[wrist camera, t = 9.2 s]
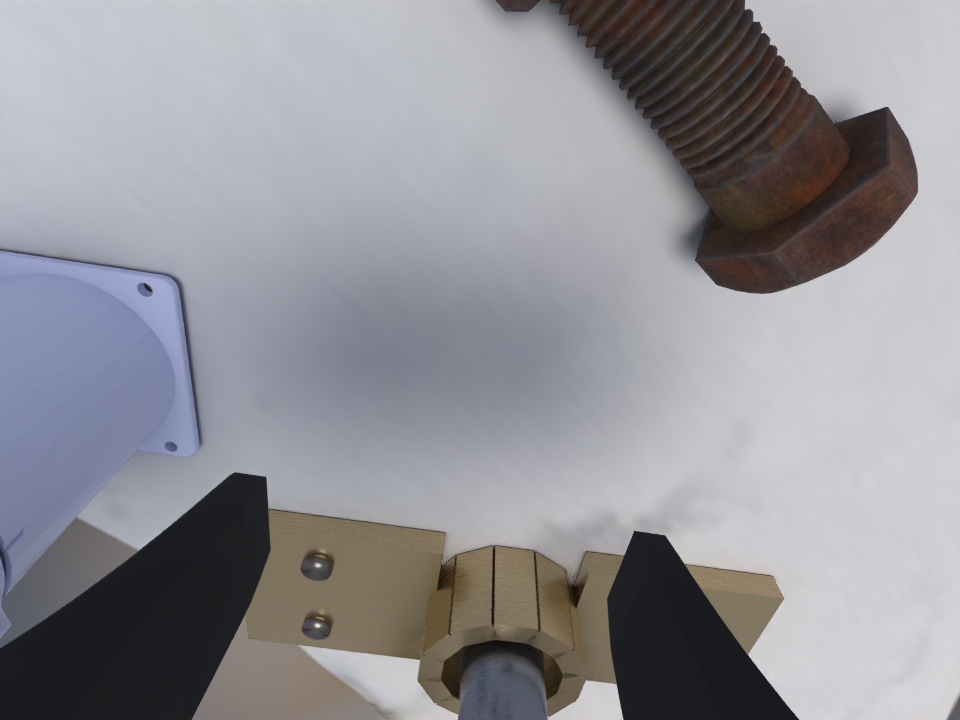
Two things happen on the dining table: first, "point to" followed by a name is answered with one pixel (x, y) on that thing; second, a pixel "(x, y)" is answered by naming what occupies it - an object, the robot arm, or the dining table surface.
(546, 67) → the dining table surface
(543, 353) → the dining table surface
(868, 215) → the bolt
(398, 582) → the hinge
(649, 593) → the robot arm
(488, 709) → the hinge pin
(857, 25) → the dining table surface
